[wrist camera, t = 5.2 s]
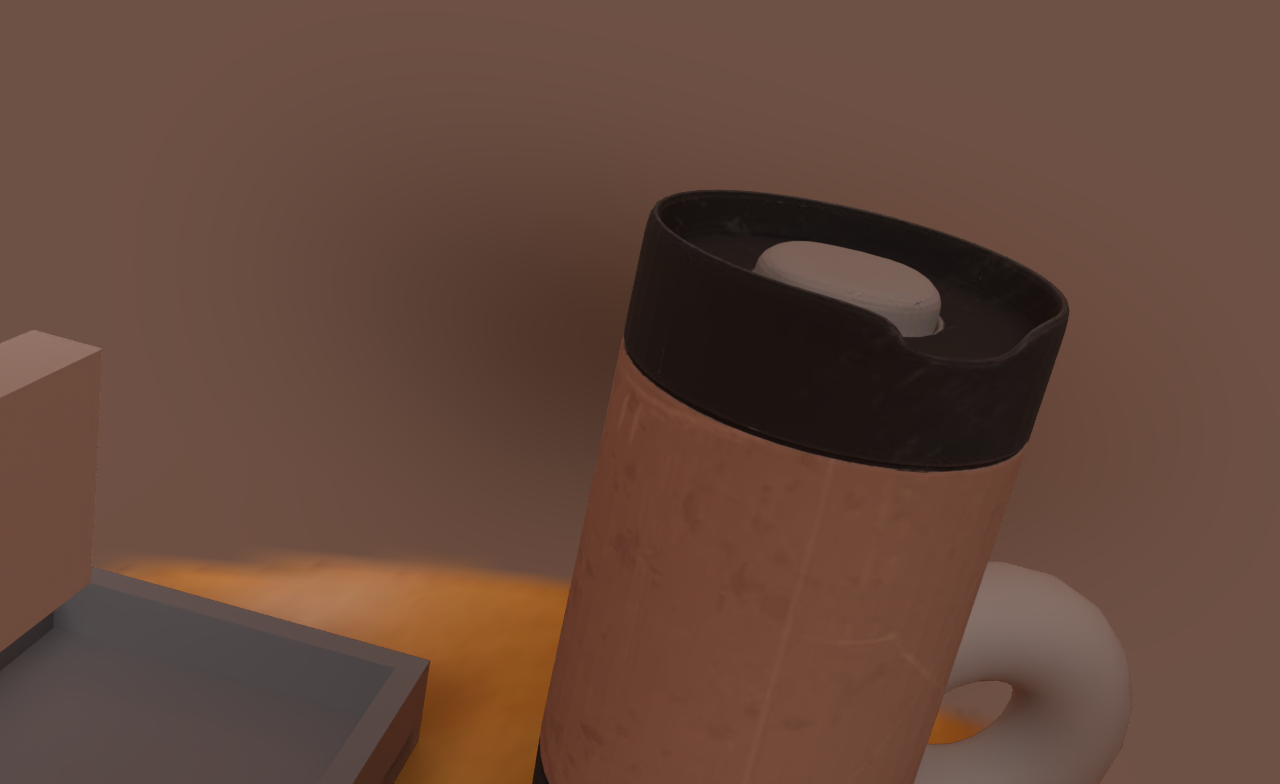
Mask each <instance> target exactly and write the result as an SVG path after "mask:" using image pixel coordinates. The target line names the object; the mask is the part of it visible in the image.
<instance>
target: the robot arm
mask: <svg viewBox="0 0 1280 784" xmlns="http://www.w3.org/2000/svg"><path fill="white" fill-rule="evenodd" d="M102 351H103V350H102V348H98V347H94V346H91V345H87V344H83V343H80V342H76V341H72V340H69V339H65V338H61V337H58V336H54V335H51V334H47V333H43V332H39V331H36V330H32V331H29V332H27V333H24V334H22V335H20V336H17V337H15V338H12V339H10V340H7V341H5V342H3V343H0V652H1V651H2V650H4V649H5V648H6V647H8V646H9V645H10V644H11V643H13V642H14V641H15V640H17V639H18V638H19V637H21V636H22V635H23V634H24V633H26V632H27V631H28V630H30V629H31V628H32V627H33V626H35V625H36V624H37V623H39V622H40V621H41V620H43V619H44V618H45V617H46V616H48V615H49V614H50V613H52V612H53V611H54V610H55V609H57V608H58V607H59V606H61V605H62V604H63V603H64V602H66V601H67V600H68V599H70V598H71V597H72V596H74V595H75V594H76V593H77V592H79V591H80V590H81V589H83V588H84V587H85V586H86V585H88V584H89V583H90V582H91V571H92V550H93V531H94V511H95V491H96V471H97V450H98V430H99V411H100V410H99V409H100V392H101V391H100V390H101V369H102Z"/></svg>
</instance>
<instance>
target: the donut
mask: <svg viewBox="0 0 1280 784" xmlns="http://www.w3.org/2000/svg"><path fill="white" fill-rule="evenodd" d="M995 680H997V681H1002V682H1006V683H1008V684H1010V685H1012V688H1013V692H1012V696H1011V699H1010V701H1009V703H1008V704H1007V706H1006V708H1005V709H1004V711H1003V713H1002V714H1001V715H1000V716H999V717H998V718H997V719H996V720H995V721H994V722H993V723H992V724H991V725H990V726H989V727H987V728H985V729H984V730H982V731H980V732H978V733H977V734H975V735H973V736H972V737H970V738H967V739H964V740H960V741H957V742H954V743H950V744H928V743H927V746H926V748H925V751H924V754H923V757H922V760H921V763H920V766H919V769H918V772H917V775H916V778H915V781H914V784H1099V783H1100V782H1101V780H1102V779H1103V777H1104V775H1105V774H1106V772H1107V771H1108V769H1109V768H1110V766H1111V764H1112V763H1113V761H1114V760H1115V758H1116V757H1117V755H1118V753H1119V752H1120V750H1121V749H1122V746H1123V741H1124V738H1125V734H1126V730H1127V726H1128V723H1129V719H1130V715H1131V711H1132V691H1131V684H1130V675H1129V667H1128V659H1127V655H1126V653H1125V651H1124V649H1123V647H1122V645H1121V643H1120V641H1119V640H1118V638H1117V637H1116V635H1115V633H1114V632H1113V630H1112V628H1111V627H1110V625H1109V623H1108V622H1107V620H1106V619H1105V617H1104V615H1103V613H1102V612H1101V610H1100V609H1099V608H1098V607H1097V606H1096V605H1094V604H1093V603H1092V602H1090V601H1089V600H1088V599H1086V598H1085V597H1084V596H1082V595H1081V594H1079V593H1078V592H1076V591H1075V590H1074V589H1072V588H1071V587H1070V586H1068V585H1067V584H1065V583H1064V582H1063V581H1061V580H1060V579H1058V578H1057V577H1056V576H1054V575H1050V574H1047V573H1043V572H1039V571H1035V570H1032V569H1028V568H1024V567H1020V566H1017V565H1013V564H1010V563H1005V562H1000V561H994V562H988V563H987V566H986V569H985V572H984V575H983V578H982V581H981V584H980V587H979V590H978V593H977V596H976V599H975V602H974V605H973V608H972V611H971V614H970V617H969V620H968V623H967V626H966V629H965V632H964V635H963V638H962V641H961V644H960V647H959V650H958V653H957V656H956V659H955V662H954V665H953V668H952V671H951V674H950V677H949V680H948V683H947V686H946V689H945V692H944V694H945V693H947V692H949V691H950V690H952V689H954V688H956V687H959V686H963V685H966V684H969V683H972V682H976V681H995Z"/></svg>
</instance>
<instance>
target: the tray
mask: <svg viewBox="0 0 1280 784" xmlns="http://www.w3.org/2000/svg"><path fill="white" fill-rule="evenodd" d="M429 665H430V660H426V659H423V658H419V657H416V656H412V655H408V654H405V653H401V652H398V651H394V650H390V649H387V648H383V647H380V646H376V645H372V644H369V643H365V642H362V641H358V640H354V639H351V638H347V637H344V636H340V635H336V634H333V633H329V632H326V631H322V630H318V629H315V628H311V627H308V626H304V625H300V624H297V623H293V622H290V621H286V620H282V619H279V618H275V617H272V616H268V615H264V614H261V613H257V612H254V611H250V610H246V609H243V608H239V607H236V606H232V605H228V604H225V603H221V602H218V601H214V600H210V599H207V598H203V597H200V596H196V595H192V594H189V593H185V592H182V591H178V590H175V589H171V588H167V587H164V586H160V585H157V584H153V583H149V582H146V581H142V580H139V579H135V578H131V577H128V576H124V575H121V574H117V573H113V572H110V571H106V570H103V569H99V568H95V567H92V571H91V582H90V583H89V584H88V585H86V586H85V587H84V588H83V589H81V590H80V591H79V592H77V593H76V594H75V595H74V596H72V597H71V598H70V599H68V600H67V601H66V602H64V603H63V604H62V605H61V606H59V607H58V608H57V609H55V610H54V611H53V612H52V613H50V614H49V615H48V616H46V617H45V618H44V619H43V620H41V621H40V622H39V623H37V624H36V625H35V626H33V627H32V628H31V629H30V630H28V631H27V632H26V633H24V634H23V635H22V636H21V637H19V638H18V639H17V640H15V641H14V642H13V643H11V644H10V645H9V646H8V647H6V648H5V649H4V650H2V651H1V652H0V784H393V783H394V781H395V780H396V778H397V776H398V774H399V773H400V771H401V769H402V767H403V766H404V764H405V762H406V761H407V759H408V757H409V755H410V754H411V752H412V750H413V749H414V747H415V745H416V743H417V742H418V738H419V731H420V725H421V718H422V711H423V705H424V698H425V691H426V685H427V678H428V671H429Z"/></svg>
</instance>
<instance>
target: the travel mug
mask: <svg viewBox="0 0 1280 784" xmlns="http://www.w3.org/2000/svg"><path fill="white" fill-rule="evenodd" d="M1068 316H1069V306H1068V302H1067V299H1066V298H1065V296H1064V295H1063V294H1062V292H1061V291H1060V290H1059V289H1057V288H1056V287H1055V286H1054V285H1053V284H1052V283H1051V282H1049V281H1048V280H1047V279H1045V278H1044V277H1042V276H1041V275H1039V274H1038V273H1036V272H1034V271H1033V270H1031V269H1029V268H1027V267H1026V266H1024V265H1022V264H1020V263H1018V262H1016V261H1014V260H1012V259H1010V258H1008V257H1005V256H1003V255H1001V254H999V253H996V252H994V251H992V250H989V249H987V248H984V247H982V246H980V245H977V244H975V243H972V242H969V241H966V240H964V239H961V238H958V237H955V236H953V235H949V234H946V233H943V232H941V231H938V230H935V229H931V228H928V227H925V226H921V225H918V224H915V223H911V222H908V221H904V220H901V219H897V218H893V217H890V216H886V215H882V214H878V213H874V212H870V211H865V210H861V209H857V208H852V207H848V206H843V205H839V204H834V203H828V202H823V201H818V200H812V199H806V198H800V197H794V196H786V195H779V194H770V193H761V192H751V191H738V190H698V191H687V192H682V193H677V194H673V195H671V196H667V197H665V198H663V199H661V200H660V201H658V202H657V203H656V205H655V206H654V208H653V209H652V211H651V213H650V215H649V218H648V221H647V225H646V229H645V232H644V237H643V242H642V247H641V252H640V256H639V261H638V266H637V271H636V276H635V280H634V286H633V291H632V295H631V300H630V304H629V310H628V314H627V319H626V324H625V329H624V335H623V338H622V343H621V348H620V352H619V357H618V362H617V367H616V372H615V377H614V381H613V386H612V391H611V396H610V400H609V405H608V410H607V415H606V420H605V424H604V429H603V434H602V439H601V443H600V448H599V453H598V458H597V463H596V468H595V472H594V477H593V482H592V487H591V492H590V496H589V501H588V506H587V510H586V515H585V520H584V525H583V530H582V535H581V539H580V544H579V549H578V554H577V559H576V564H575V568H574V573H573V577H572V582H571V587H570V592H569V597H568V601H567V606H566V611H565V616H564V621H563V625H562V630H561V635H560V640H559V644H558V649H557V654H556V659H555V664H554V668H553V673H552V678H551V683H550V688H549V692H548V697H547V702H546V707H545V711H544V716H543V721H542V727H541V734H540V739H539V745H538V751H537V757H536V764H535V770H534V776H533V783H532V784H914V781H915V778H916V775H917V772H918V769H919V766H920V763H921V760H922V757H923V754H924V751H925V748H926V746H927V743H928V740H929V737H930V734H931V731H932V728H933V725H934V722H935V719H936V716H937V713H938V710H939V707H940V704H941V701H942V698H943V695H944V692H945V689H946V686H947V683H948V680H949V677H950V674H951V671H952V668H953V665H954V662H955V659H956V656H957V653H958V650H959V647H960V644H961V641H962V638H963V635H964V632H965V629H966V626H967V623H968V620H969V617H970V614H971V611H972V608H973V605H974V602H975V599H976V596H977V593H978V590H979V587H980V584H981V581H982V578H983V575H984V572H985V569H986V566H987V563H988V560H989V557H990V554H991V551H992V548H993V545H994V542H995V539H996V536H997V533H998V530H999V527H1000V524H1001V521H1002V518H1003V515H1004V512H1005V509H1006V507H1007V504H1008V500H1009V498H1010V494H1011V492H1012V489H1013V485H1014V482H1015V480H1016V477H1017V474H1018V470H1019V468H1020V465H1021V462H1022V459H1023V456H1024V453H1025V450H1026V447H1027V444H1028V440H1029V438H1030V435H1031V432H1032V429H1033V426H1034V423H1035V420H1036V417H1037V414H1038V411H1039V408H1040V405H1041V402H1042V399H1043V396H1044V393H1045V390H1046V387H1047V384H1048V381H1049V378H1050V375H1051V372H1052V369H1053V366H1054V363H1055V360H1056V357H1057V354H1058V351H1059V348H1060V345H1061V342H1062V340H1063V336H1064V333H1065V330H1066V326H1067V322H1068Z"/></svg>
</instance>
